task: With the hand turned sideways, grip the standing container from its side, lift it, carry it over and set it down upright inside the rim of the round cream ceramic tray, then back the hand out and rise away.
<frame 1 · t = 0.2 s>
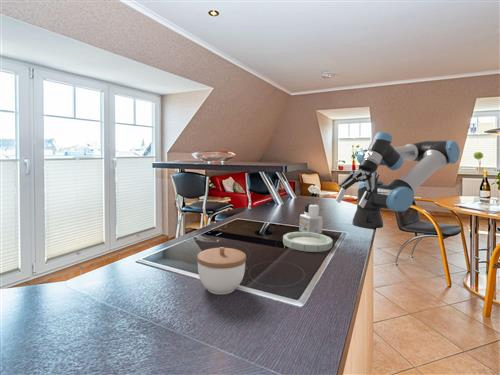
hand: (348, 203, 133), 15 cm above the countertop, tool tilted 35°, fingers open, 13 cm apart
container: (310, 232, 142), on the countertop
round tray: (307, 244, 123), on the countertop
lidded bowl: (221, 289, 80), on the countertop
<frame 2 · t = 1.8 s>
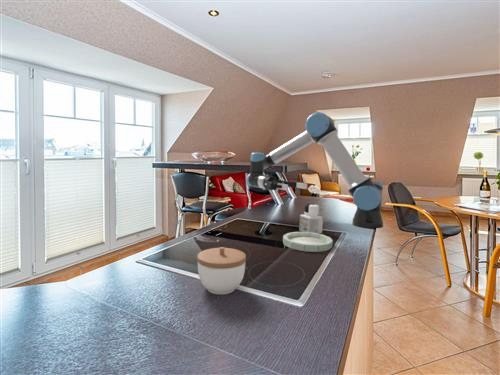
hand: (297, 187, 147), 20 cm above the countertop, tool horizontal, fingers open, 13 cm apart
nothing on the countertop moved.
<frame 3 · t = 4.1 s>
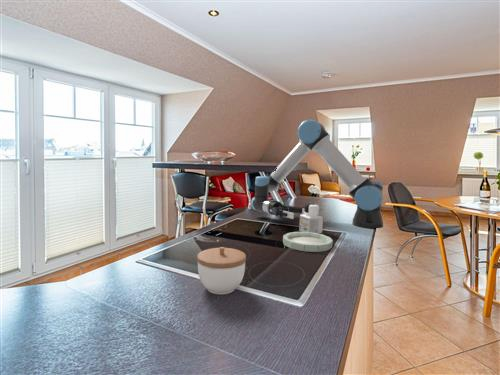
hand: (303, 214, 145), 7 cm above the countertop, tool horizontal, fingers open, 13 cm apart
nothing on the countertop moved.
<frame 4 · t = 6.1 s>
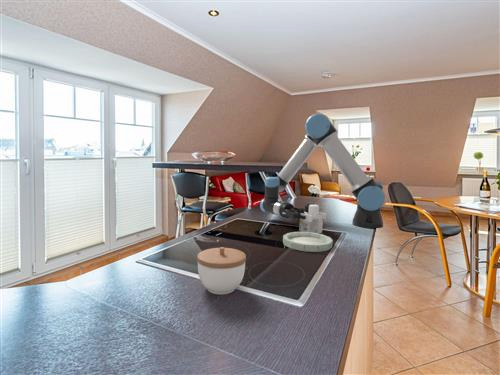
hand: (319, 217, 138), 8 cm above the countertop, tool horizontal, fingers closed on container, 9 cm apart
container: (310, 232, 142), on the countertop, touching gripper
everything else where it was.
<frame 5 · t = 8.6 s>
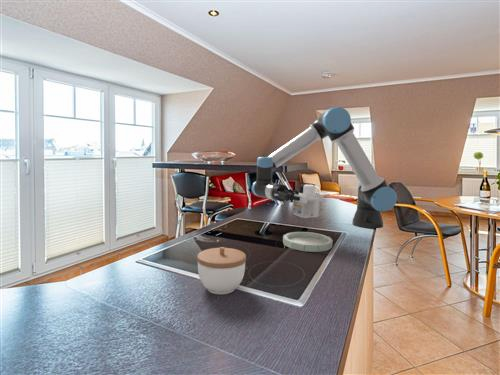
hand: (315, 199, 121), 18 cm above the countertop, tool horizontal, fingers closed on container, 9 cm apart
container: (305, 216, 126), point 10 cm above the countertop, touching gripper
everything else where it was.
when the fingers open (10 cm above the countertop, at t = 11.3 s): container drops 1 cm, resting on round tray.
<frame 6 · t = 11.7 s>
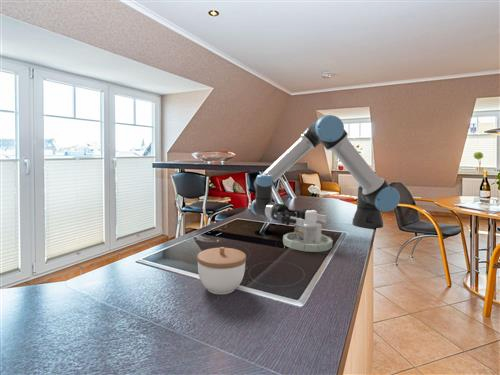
hand: (315, 221, 119), 10 cm above the countertop, tool horizontal, fingers open, 13 cm apart
container: (307, 242, 123), point 1 cm above the countertop, touching round tray
everything else where it was.
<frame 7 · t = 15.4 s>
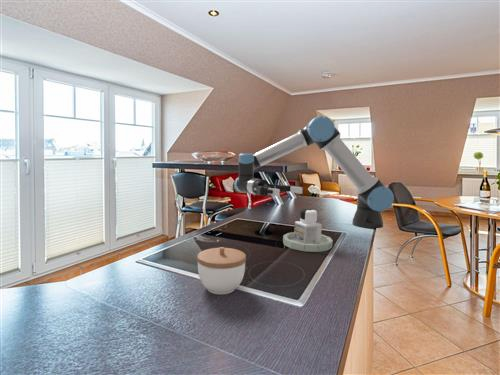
hand: (290, 191, 128), 20 cm above the countertop, tool horizontal, fingers open, 13 cm apart
nothing on the countertop moved.
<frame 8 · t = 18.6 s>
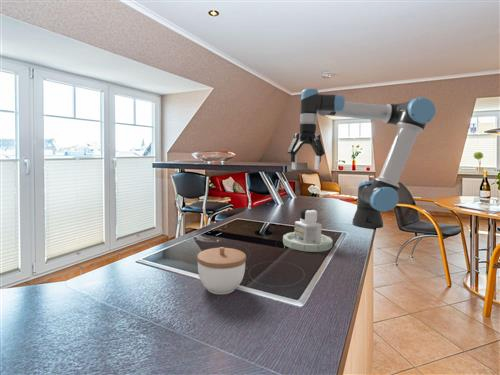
hand: (305, 169, 144), 29 cm above the countertop, tool pointing down, fingers open, 13 cm apart
nothing on the countertop moved.
at the end: container inside the target area on the round tray (0.1 cm from its centre), point 0.8 cm above the round tray's base; container tilted 0°; the gripper is holding nothing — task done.
